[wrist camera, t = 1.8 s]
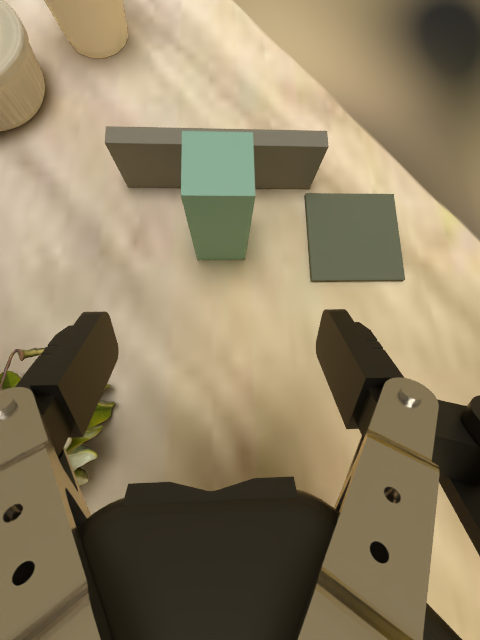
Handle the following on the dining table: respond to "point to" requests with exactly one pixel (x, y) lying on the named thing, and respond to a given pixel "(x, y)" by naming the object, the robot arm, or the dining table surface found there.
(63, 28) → the foam cup
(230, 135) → the block
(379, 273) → the mat
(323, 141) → the screen
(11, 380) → the passion flower
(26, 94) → the ramekin
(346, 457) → the dining table surface
